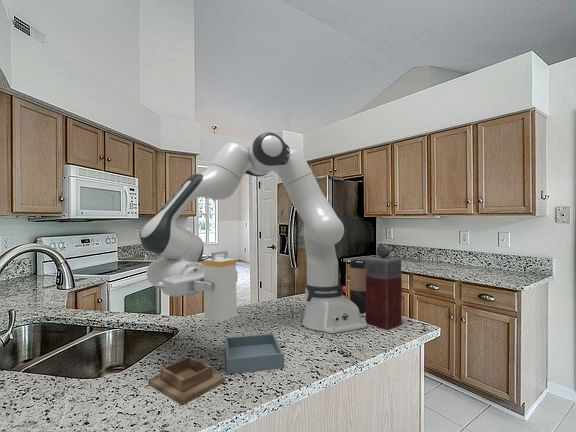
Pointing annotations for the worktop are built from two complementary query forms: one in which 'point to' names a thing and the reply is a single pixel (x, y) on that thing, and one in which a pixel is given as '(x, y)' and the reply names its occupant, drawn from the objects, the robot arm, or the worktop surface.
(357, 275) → the travel mug
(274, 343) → the tray
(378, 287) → the red square storage jar
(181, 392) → the dock
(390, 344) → the worktop surface
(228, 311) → the tall lidded canister
